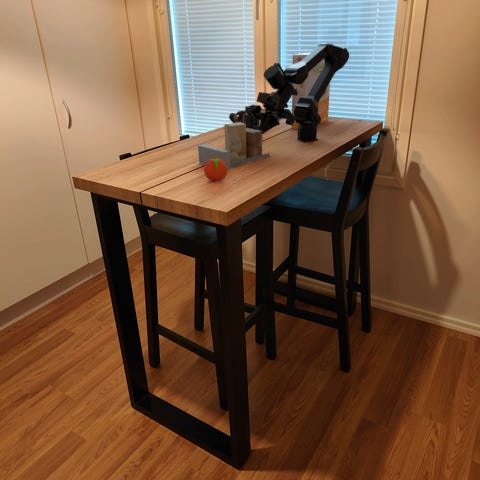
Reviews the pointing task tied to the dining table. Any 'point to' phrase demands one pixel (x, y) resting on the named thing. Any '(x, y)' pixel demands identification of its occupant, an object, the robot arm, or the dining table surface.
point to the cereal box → (307, 86)
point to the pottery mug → (237, 117)
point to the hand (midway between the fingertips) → (259, 134)
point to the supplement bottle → (250, 120)
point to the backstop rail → (223, 156)
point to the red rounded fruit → (215, 169)
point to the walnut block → (253, 142)
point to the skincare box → (235, 141)
